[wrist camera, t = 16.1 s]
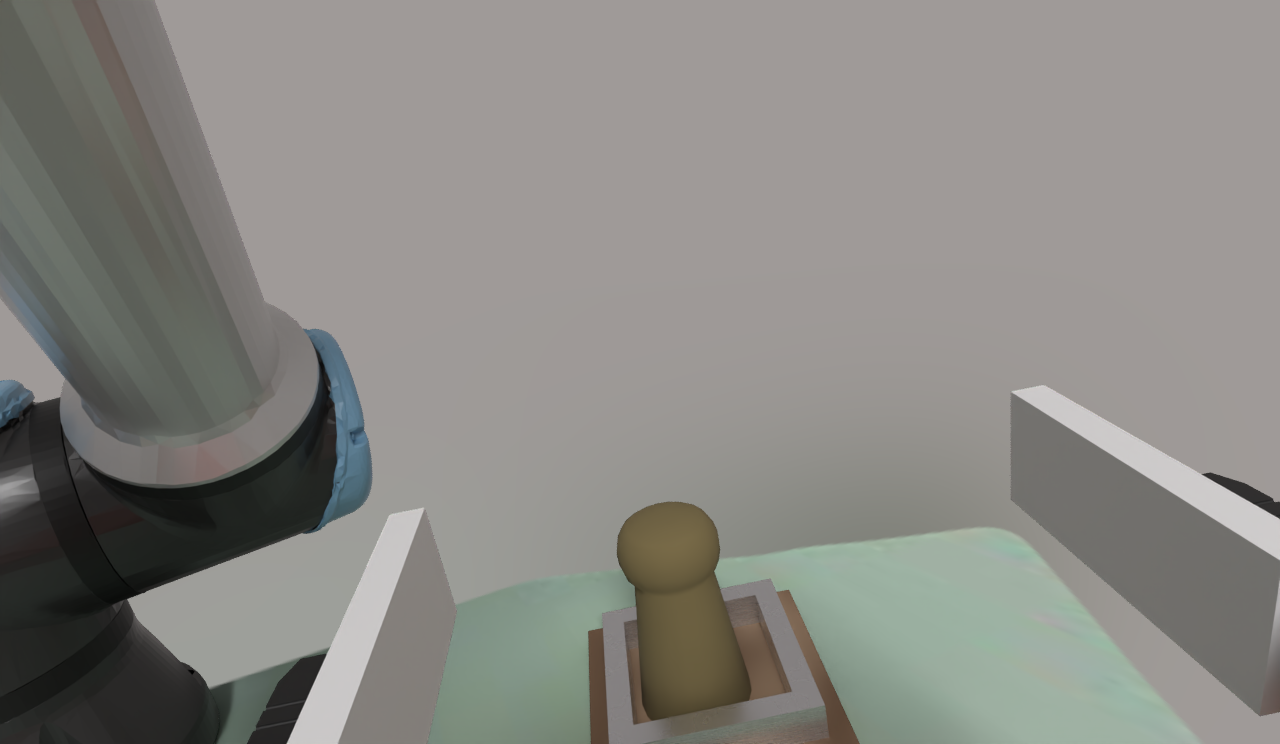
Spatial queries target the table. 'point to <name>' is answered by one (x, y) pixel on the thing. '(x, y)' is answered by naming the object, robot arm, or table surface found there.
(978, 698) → the table surface
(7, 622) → the robot arm
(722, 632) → the cork
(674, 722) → the coaster
